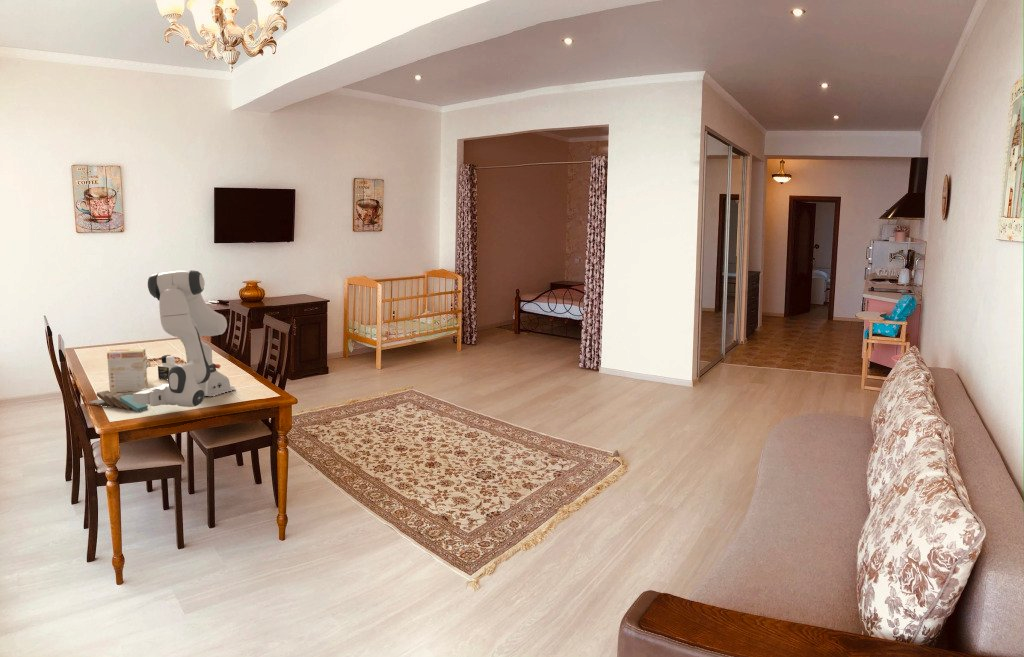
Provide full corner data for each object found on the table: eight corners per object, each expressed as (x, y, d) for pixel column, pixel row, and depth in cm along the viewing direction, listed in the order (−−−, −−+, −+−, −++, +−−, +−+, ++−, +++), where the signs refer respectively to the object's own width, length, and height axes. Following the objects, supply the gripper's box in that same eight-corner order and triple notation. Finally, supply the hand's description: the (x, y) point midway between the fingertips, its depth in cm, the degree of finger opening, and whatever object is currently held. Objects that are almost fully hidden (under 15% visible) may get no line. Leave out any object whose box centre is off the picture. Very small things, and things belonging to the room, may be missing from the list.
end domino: (117, 402, 297) (97, 399, 301) (107, 404, 293) (87, 402, 296) (117, 405, 298) (98, 402, 301) (107, 408, 293) (88, 405, 296)
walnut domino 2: (132, 402, 295) (115, 391, 298) (121, 405, 290) (104, 394, 294) (131, 406, 295) (114, 394, 299) (121, 408, 291) (103, 397, 294)
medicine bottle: (158, 379, 343) (156, 356, 341) (169, 376, 349) (168, 353, 347) (169, 380, 341) (167, 357, 339) (180, 377, 347) (178, 354, 345)
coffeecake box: (148, 387, 326) (145, 348, 323) (145, 391, 320) (142, 351, 316) (113, 389, 322) (110, 349, 318) (109, 393, 315) (106, 352, 312)
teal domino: (148, 405, 292) (129, 394, 295) (138, 408, 287) (119, 396, 290) (147, 408, 292) (129, 397, 295) (137, 411, 288) (119, 400, 291)
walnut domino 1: (123, 401, 297) (107, 390, 300) (112, 403, 292) (97, 392, 296) (122, 404, 297) (107, 393, 301) (112, 407, 292) (96, 395, 296)
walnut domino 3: (139, 404, 293) (122, 392, 296) (129, 407, 289) (111, 395, 292) (138, 407, 294) (121, 396, 297) (128, 410, 289) (111, 398, 292)
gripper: (185, 381, 295) (159, 378, 298) (149, 392, 275) (122, 389, 279) (186, 395, 296) (160, 392, 299) (150, 407, 276) (123, 403, 280)
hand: (141, 390), depth 289 cm, fingers closed
